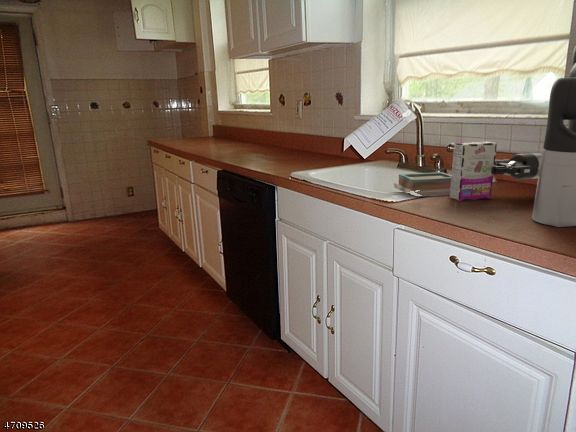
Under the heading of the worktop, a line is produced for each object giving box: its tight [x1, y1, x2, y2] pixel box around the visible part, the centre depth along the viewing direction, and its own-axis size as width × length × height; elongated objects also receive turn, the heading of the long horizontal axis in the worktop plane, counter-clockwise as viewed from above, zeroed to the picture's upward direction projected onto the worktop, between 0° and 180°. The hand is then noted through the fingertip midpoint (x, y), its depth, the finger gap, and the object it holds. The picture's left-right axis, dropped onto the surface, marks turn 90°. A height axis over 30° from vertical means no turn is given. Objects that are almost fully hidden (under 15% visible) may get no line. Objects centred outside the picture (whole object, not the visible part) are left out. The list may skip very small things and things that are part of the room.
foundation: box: [393, 171, 451, 197], centre depth 136 cm, size 14×16×5 cm
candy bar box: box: [449, 141, 497, 202], centre depth 124 cm, size 11×5×16 cm, turn 105°
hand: (482, 168), depth 125 cm, fingers open, 8 cm apart
